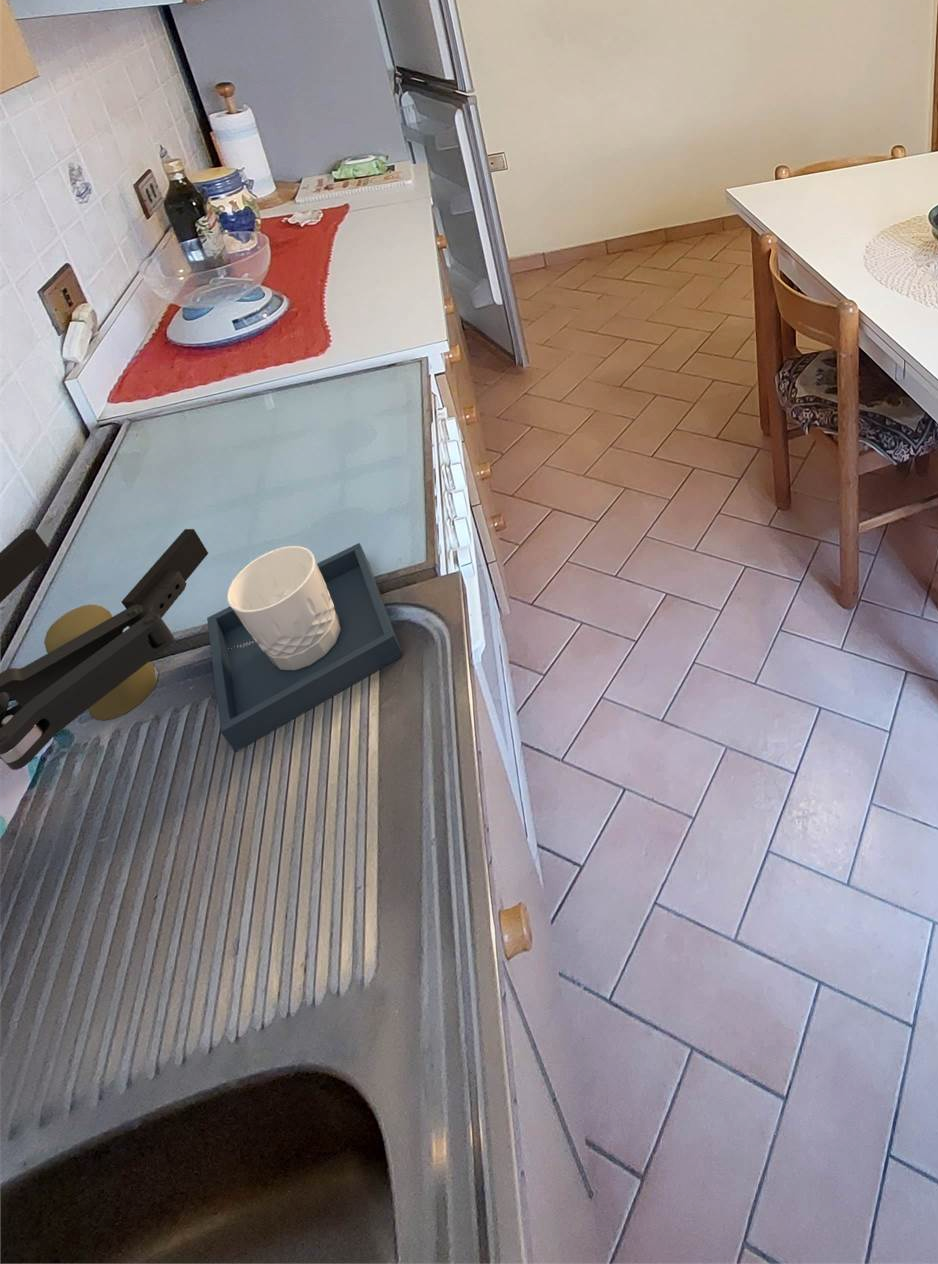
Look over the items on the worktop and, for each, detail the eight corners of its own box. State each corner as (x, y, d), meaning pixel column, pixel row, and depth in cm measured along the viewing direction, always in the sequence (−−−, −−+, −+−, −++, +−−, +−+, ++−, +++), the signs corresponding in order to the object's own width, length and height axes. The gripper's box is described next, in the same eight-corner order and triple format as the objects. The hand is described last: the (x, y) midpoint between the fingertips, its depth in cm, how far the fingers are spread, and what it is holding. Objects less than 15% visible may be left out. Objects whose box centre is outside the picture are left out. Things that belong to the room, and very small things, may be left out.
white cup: (331, 597, 89) (299, 533, 84) (358, 639, 84) (326, 574, 79) (255, 644, 84) (217, 580, 79) (279, 692, 79) (239, 626, 74)
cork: (160, 694, 81) (109, 623, 76) (89, 733, 78) (30, 662, 73) (156, 653, 85) (107, 583, 80) (88, 688, 82) (33, 618, 77)
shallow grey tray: (219, 637, 86) (206, 617, 85) (368, 561, 94) (359, 542, 92) (235, 752, 75) (220, 731, 73) (403, 656, 82) (393, 635, 81)
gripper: (-317, 869, 47) (0, 572, 66) (64, 888, 45) (282, 574, 63) (-417, 801, 44) (-52, 507, 62) (-9, 817, 41) (245, 506, 60)
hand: (117, 540), depth 63 cm, fingers open, 13 cm apart
